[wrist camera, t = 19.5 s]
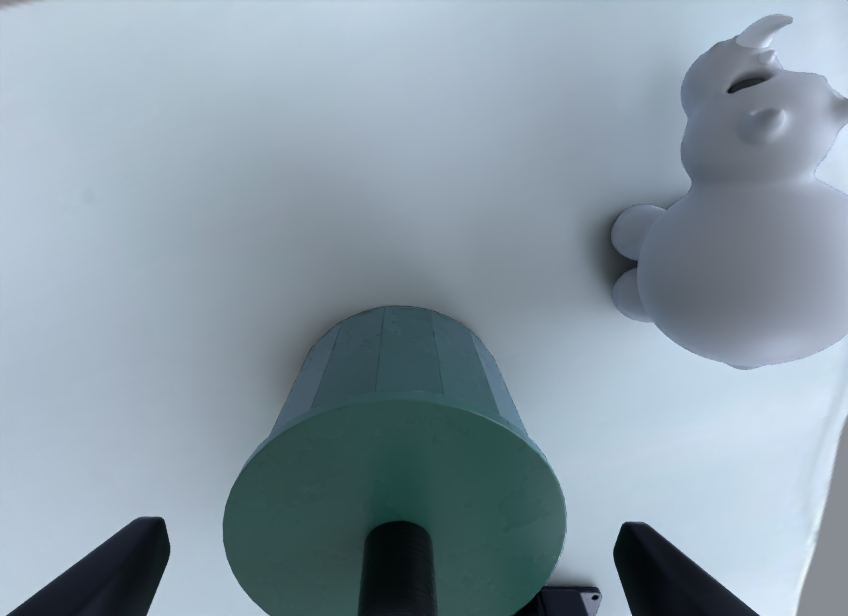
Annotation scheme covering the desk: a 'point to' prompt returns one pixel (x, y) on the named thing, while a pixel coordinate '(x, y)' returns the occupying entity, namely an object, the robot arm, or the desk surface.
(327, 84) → the desk surface
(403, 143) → the desk surface
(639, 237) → the round bodied animal figurine
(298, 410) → the tin
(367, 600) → the tin lid
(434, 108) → the desk surface
